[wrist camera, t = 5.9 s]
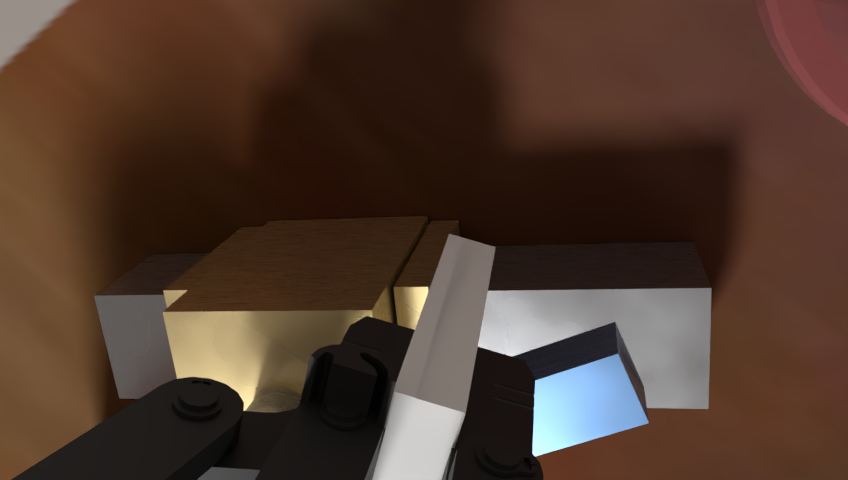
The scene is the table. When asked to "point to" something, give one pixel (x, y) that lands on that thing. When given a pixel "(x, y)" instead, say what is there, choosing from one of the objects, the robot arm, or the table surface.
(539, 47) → the table surface
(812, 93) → the mechanical component
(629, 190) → the table surface
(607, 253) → the pipe
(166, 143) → the table surface
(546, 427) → the lever
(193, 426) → the robot arm
